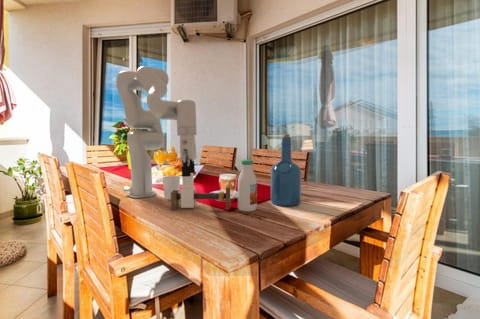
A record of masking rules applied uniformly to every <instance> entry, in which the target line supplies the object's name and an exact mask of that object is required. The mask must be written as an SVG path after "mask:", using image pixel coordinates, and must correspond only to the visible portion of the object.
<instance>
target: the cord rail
mask: <svg viewBox="0 0 480 319" xmlns="http://www.w3.org/2000/svg"><path fill="white" fill-rule="evenodd" d="M225 186H226V187H225V192H224V191H218V192H212V193H211V192H197V193H194V199H196V200H218V201H225V210H227V211H229V210H228V209H230V210H231V185H230V184H227V185H225ZM180 200H181V192H179V190H173V191H172V192H171V200H170V208H171V211H177V210H178V209H179V207H180Z"/></svg>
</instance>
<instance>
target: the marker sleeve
mask: <svg viewBox="0 0 480 319" xmlns="http://www.w3.org/2000/svg"><path fill="white" fill-rule="evenodd" d="M181 177H182V188H181V189H180V193H181V199H180V207H181V208H183V209H190V208H193V209H194V208H195V205H197V202H196V201H197V199H194V193H196V186H194V173H191V176H189V177H183V176H182V175H181ZM181 208H180V209H181Z"/></svg>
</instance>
